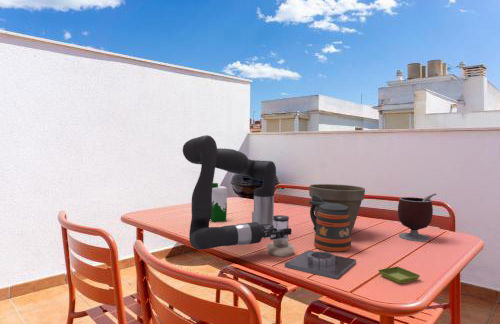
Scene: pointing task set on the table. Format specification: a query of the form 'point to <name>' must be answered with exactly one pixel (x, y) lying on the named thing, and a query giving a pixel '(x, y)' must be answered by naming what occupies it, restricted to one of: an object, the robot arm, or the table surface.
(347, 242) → the beer stein
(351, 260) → the hub plate
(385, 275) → the olive green shallow tray
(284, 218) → the glass jar with lid
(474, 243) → the table surface
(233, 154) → the robot arm
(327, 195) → the plant pot
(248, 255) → the table surface
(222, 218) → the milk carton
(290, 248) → the pedestal
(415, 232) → the mate gourd
